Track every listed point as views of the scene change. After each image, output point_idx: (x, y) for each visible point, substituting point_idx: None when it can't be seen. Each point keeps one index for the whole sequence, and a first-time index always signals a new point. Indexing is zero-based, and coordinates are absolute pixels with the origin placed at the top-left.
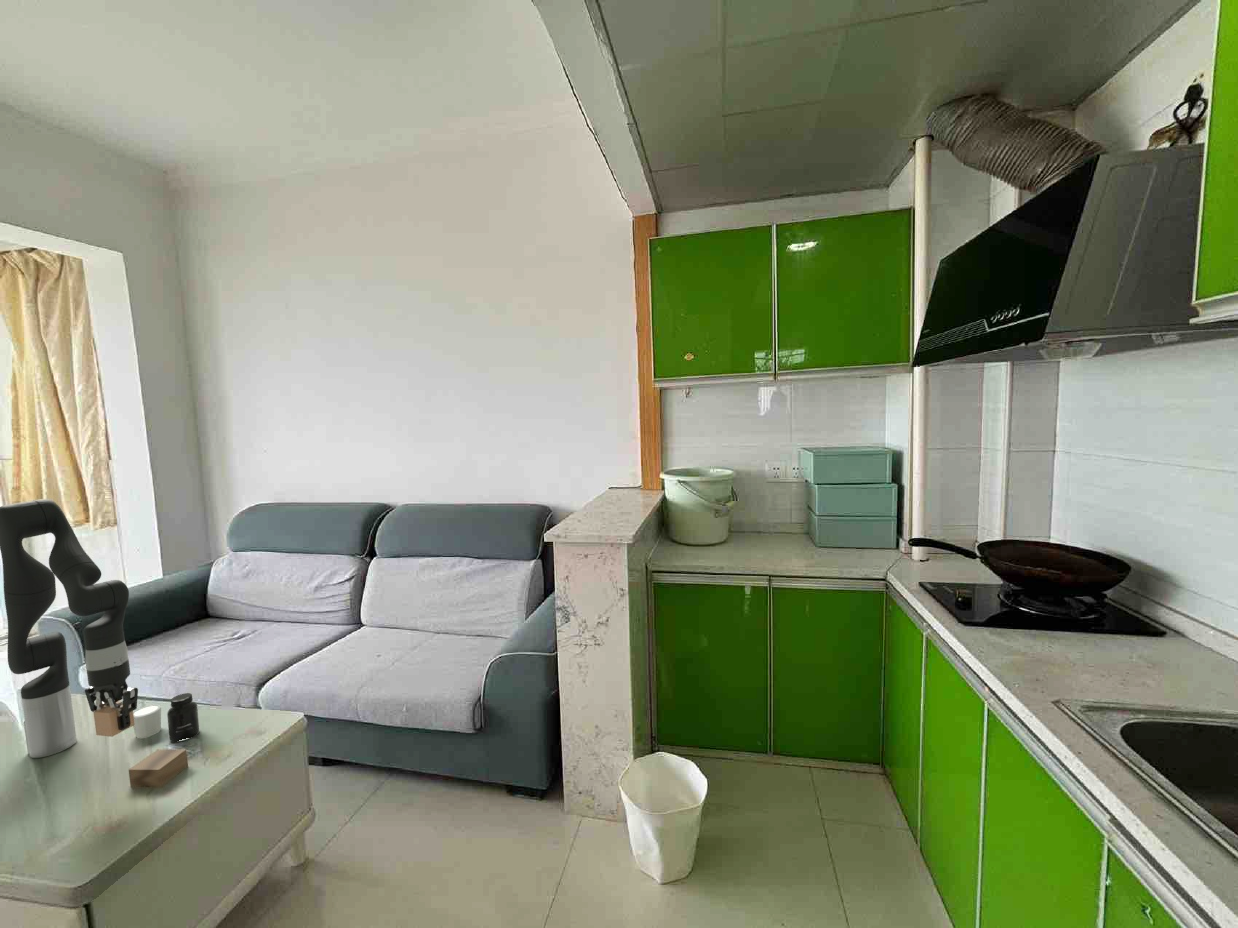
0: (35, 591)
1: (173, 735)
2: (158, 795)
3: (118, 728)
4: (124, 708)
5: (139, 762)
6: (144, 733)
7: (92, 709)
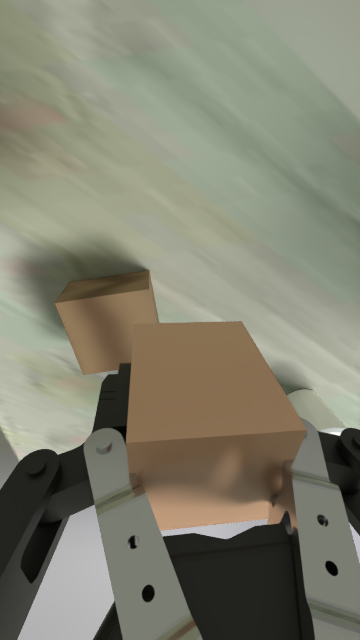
0: None
1: None
2: (38, 257)
3: None
4: (9, 509)
5: (152, 316)
6: (295, 399)
7: (357, 443)
